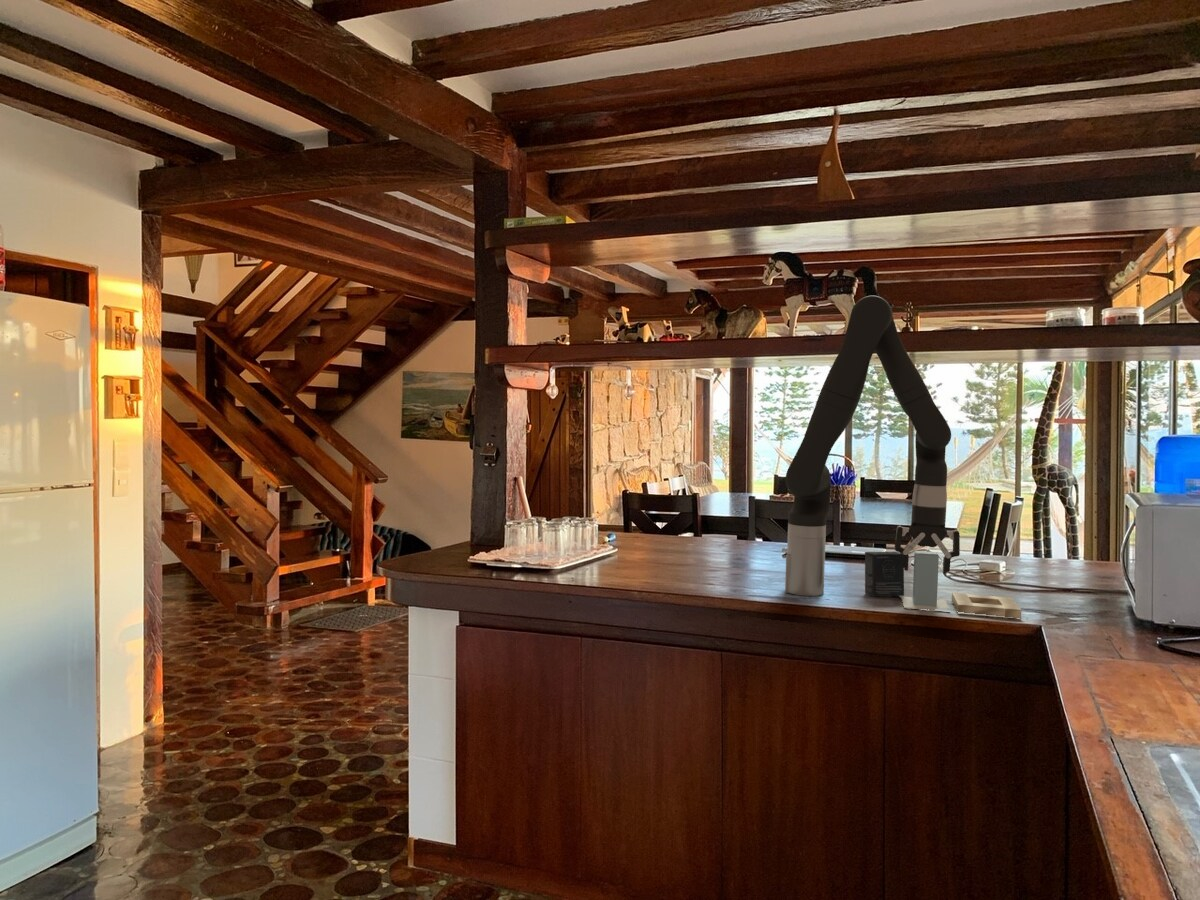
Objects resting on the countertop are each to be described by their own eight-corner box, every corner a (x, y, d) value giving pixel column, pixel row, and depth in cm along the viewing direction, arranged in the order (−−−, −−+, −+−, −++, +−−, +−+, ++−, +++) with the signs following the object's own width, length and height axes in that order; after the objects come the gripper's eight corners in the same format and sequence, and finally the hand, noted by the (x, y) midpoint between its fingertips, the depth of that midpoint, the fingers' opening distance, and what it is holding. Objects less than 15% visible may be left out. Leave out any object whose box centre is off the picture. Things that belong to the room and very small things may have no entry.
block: (913, 604, 194) (915, 554, 194) (912, 600, 199) (914, 550, 198) (936, 606, 193) (938, 555, 192) (934, 602, 197) (936, 552, 197)
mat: (903, 608, 192) (903, 607, 192) (901, 598, 203) (901, 596, 203) (950, 612, 189) (950, 611, 189) (945, 601, 200) (945, 600, 200)
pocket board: (957, 614, 188) (958, 604, 188) (951, 601, 200) (952, 592, 200) (1020, 619, 184) (1021, 609, 184) (1010, 606, 196) (1011, 597, 196)
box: (894, 593, 208) (894, 551, 209) (904, 596, 203) (904, 553, 203) (864, 593, 208) (864, 551, 208) (873, 596, 202) (873, 553, 202)
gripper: (898, 503, 193) (894, 572, 194) (964, 507, 189) (959, 577, 190) (896, 500, 201) (892, 566, 202) (959, 504, 196) (955, 571, 197)
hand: (925, 571), depth 196 cm, fingers open, 8 cm apart
